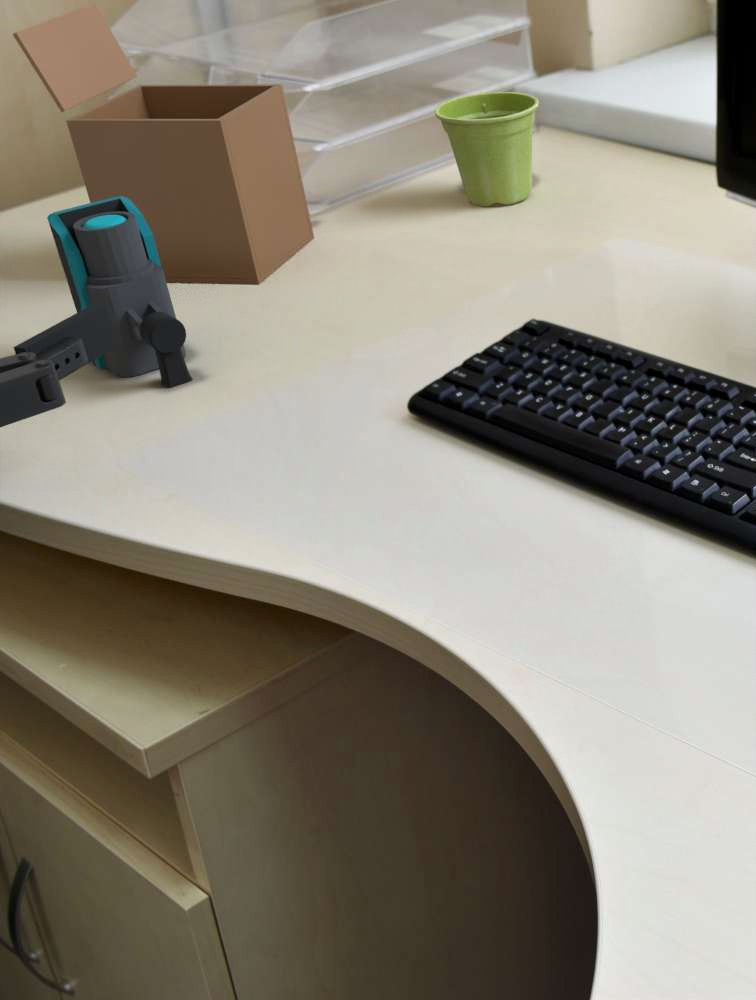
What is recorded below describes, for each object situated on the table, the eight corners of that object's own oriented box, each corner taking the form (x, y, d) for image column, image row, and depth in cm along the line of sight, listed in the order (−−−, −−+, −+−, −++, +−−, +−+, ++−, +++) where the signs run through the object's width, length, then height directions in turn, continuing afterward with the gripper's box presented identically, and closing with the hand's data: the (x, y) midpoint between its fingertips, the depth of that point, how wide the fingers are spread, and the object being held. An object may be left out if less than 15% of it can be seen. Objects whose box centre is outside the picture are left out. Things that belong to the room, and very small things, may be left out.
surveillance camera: (101, 248, 86) (43, 215, 92) (152, 419, 92) (94, 377, 98) (187, 224, 89) (125, 194, 96) (231, 391, 95) (170, 352, 102)
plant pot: (496, 220, 124) (482, 124, 120) (428, 202, 129) (413, 109, 125) (569, 192, 130) (559, 100, 126) (502, 175, 136) (490, 86, 131)
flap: (65, 110, 107) (61, 112, 108) (138, 76, 117) (134, 77, 117) (15, 32, 105) (12, 34, 105) (94, 3, 114) (90, 4, 114)
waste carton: (113, 282, 115) (65, 120, 108) (178, 236, 124) (138, 84, 117) (259, 284, 113) (220, 120, 106) (314, 237, 122) (282, 84, 115)
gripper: (-448, 514, 73) (-117, 351, 90) (-85, 582, 65) (200, 390, 83) (-521, 386, 69) (-160, 241, 86) (-144, 443, 62) (168, 272, 79)
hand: (17, 314), depth 84 cm, fingers open, 13 cm apart
